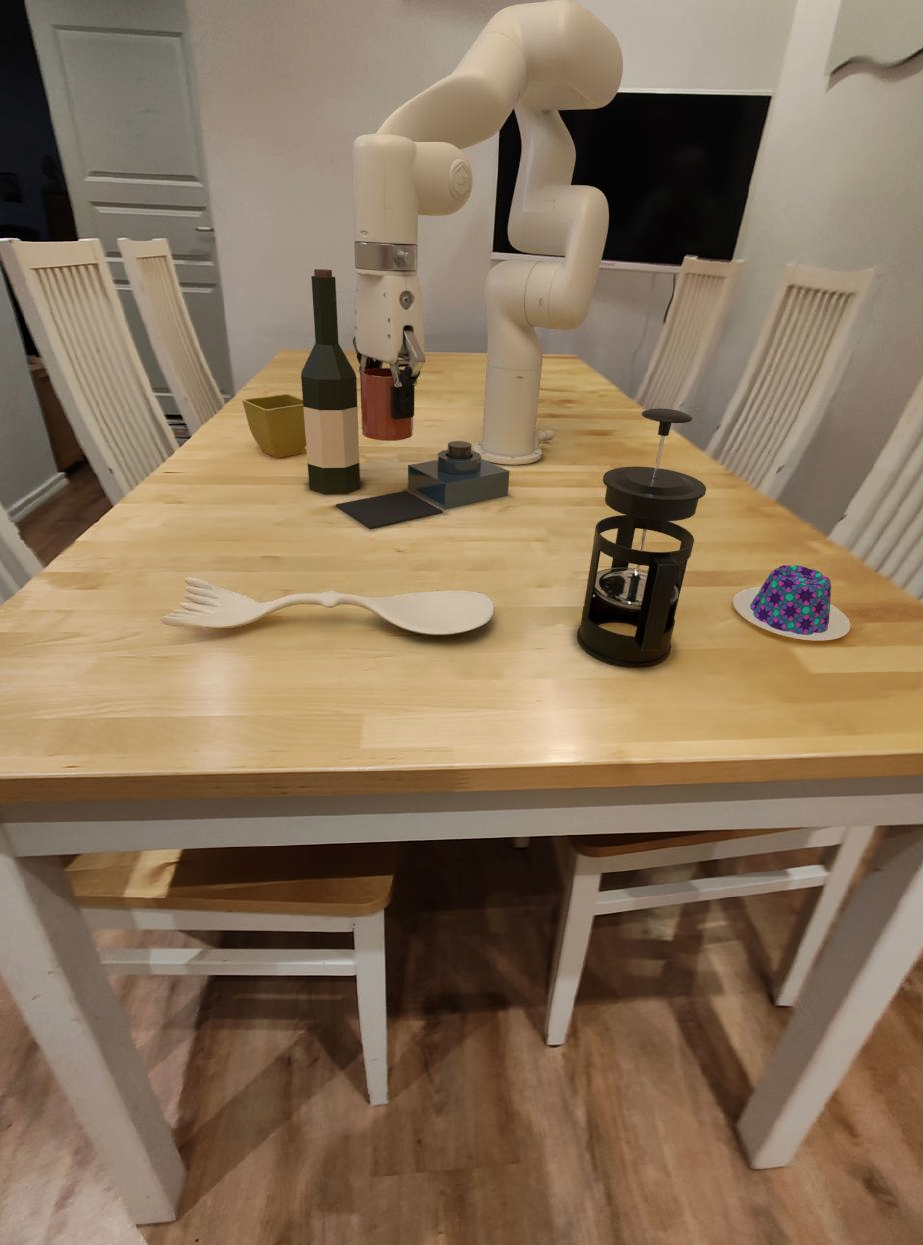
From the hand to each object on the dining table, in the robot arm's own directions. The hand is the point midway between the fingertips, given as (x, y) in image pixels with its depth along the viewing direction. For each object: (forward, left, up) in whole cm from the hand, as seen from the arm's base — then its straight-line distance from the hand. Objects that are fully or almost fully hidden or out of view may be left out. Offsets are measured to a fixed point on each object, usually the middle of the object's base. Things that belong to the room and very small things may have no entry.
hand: (387, 410), depth 90 cm
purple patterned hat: (-21, +50, -14) cm, 56 cm away
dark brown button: (-13, -1, -9) cm, 16 cm away
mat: (0, 0, -14) cm, 14 cm away
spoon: (+21, +25, -14) cm, 36 cm away
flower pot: (+2, -33, -14) cm, 36 cm away
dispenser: (-13, -1, -14) cm, 19 cm away
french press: (-1, +44, -14) cm, 46 cm away
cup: (0, 0, -3) cm, 3 cm away
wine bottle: (+2, -13, -14) cm, 19 cm away
